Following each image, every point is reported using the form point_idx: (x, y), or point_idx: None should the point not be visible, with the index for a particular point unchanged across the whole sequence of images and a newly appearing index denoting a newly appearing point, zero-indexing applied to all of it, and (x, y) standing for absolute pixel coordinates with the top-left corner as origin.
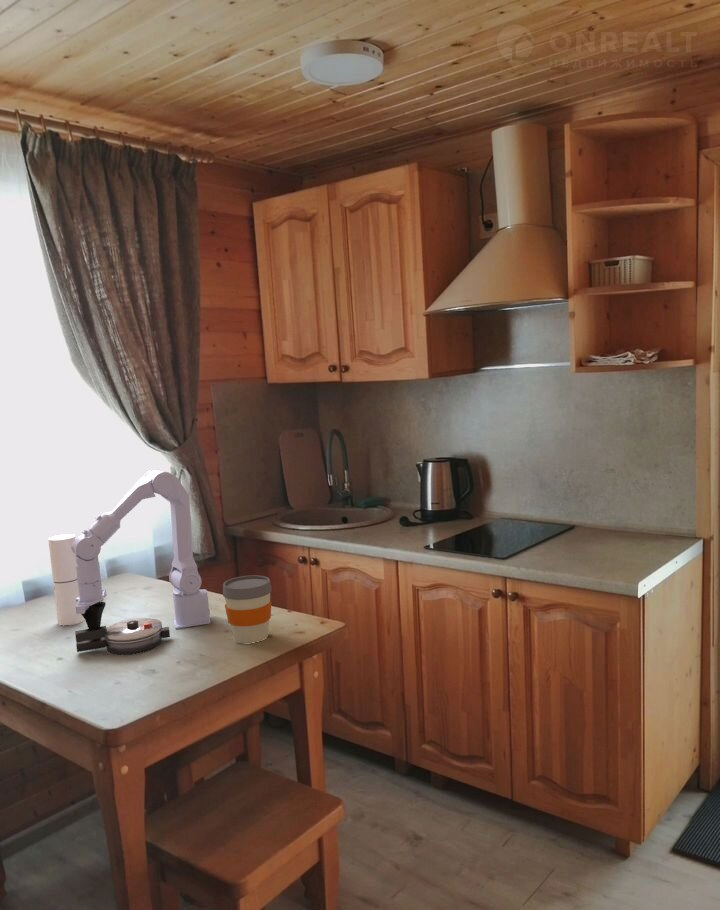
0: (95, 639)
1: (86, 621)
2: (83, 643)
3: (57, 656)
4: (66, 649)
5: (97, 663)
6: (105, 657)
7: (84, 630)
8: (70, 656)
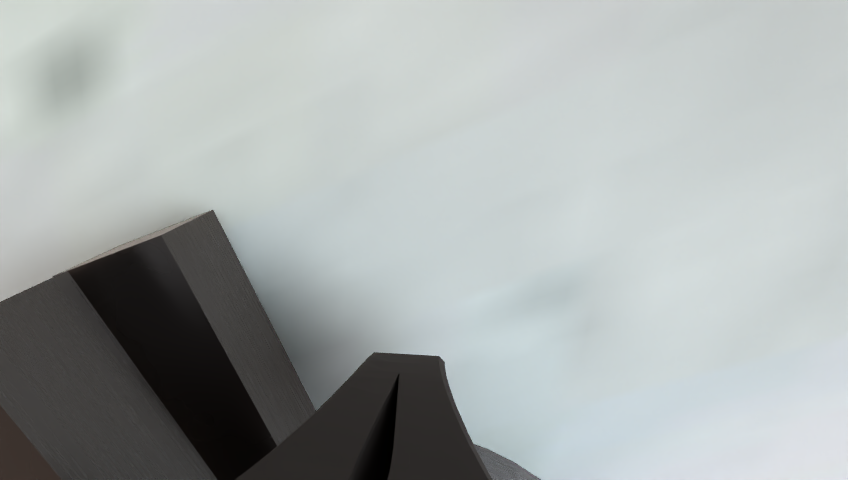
0: (225, 439)
1: (269, 464)
2: None
3: (119, 7)
4: (322, 19)
5: None
6: None
7: (5, 473)
8: (133, 164)
